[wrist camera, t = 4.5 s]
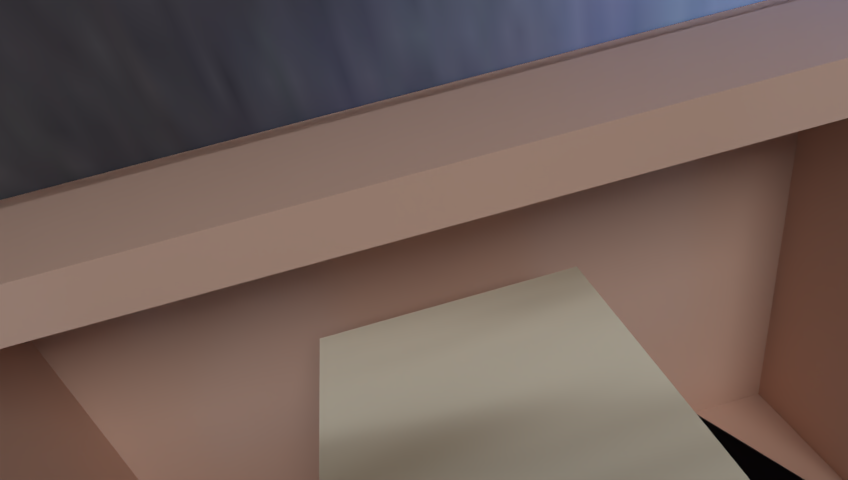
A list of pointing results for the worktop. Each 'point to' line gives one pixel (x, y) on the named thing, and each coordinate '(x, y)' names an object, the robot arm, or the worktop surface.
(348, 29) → the worktop surface
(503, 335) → the birch block
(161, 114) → the worktop surface
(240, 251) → the dish
